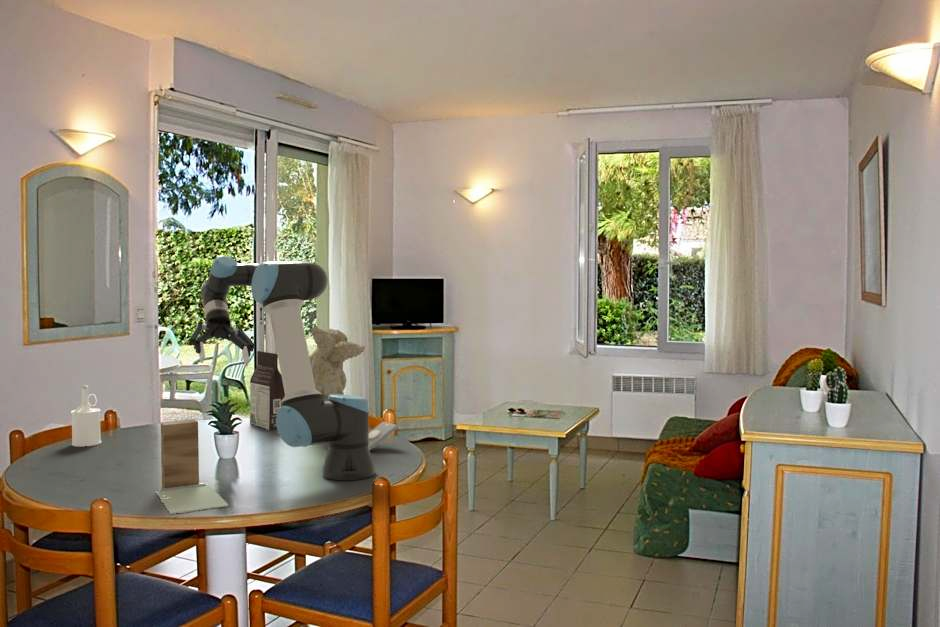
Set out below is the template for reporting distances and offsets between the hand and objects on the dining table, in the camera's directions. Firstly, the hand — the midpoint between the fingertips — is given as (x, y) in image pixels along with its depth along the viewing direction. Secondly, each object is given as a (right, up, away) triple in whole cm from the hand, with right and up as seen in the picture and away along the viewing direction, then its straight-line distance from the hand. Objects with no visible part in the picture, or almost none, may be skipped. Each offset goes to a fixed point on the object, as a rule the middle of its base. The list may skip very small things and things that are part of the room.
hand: (225, 361), depth 253 cm
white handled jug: (-55, -30, +27) cm, 69 cm away
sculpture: (+26, -29, +47) cm, 61 cm away
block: (-5, -33, -26) cm, 42 cm away
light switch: (+43, -30, +22) cm, 57 cm away
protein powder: (-2, -28, +60) cm, 66 cm away
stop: (-3, -33, -29) cm, 44 cm away
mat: (+2, -34, -38) cm, 51 cm away
